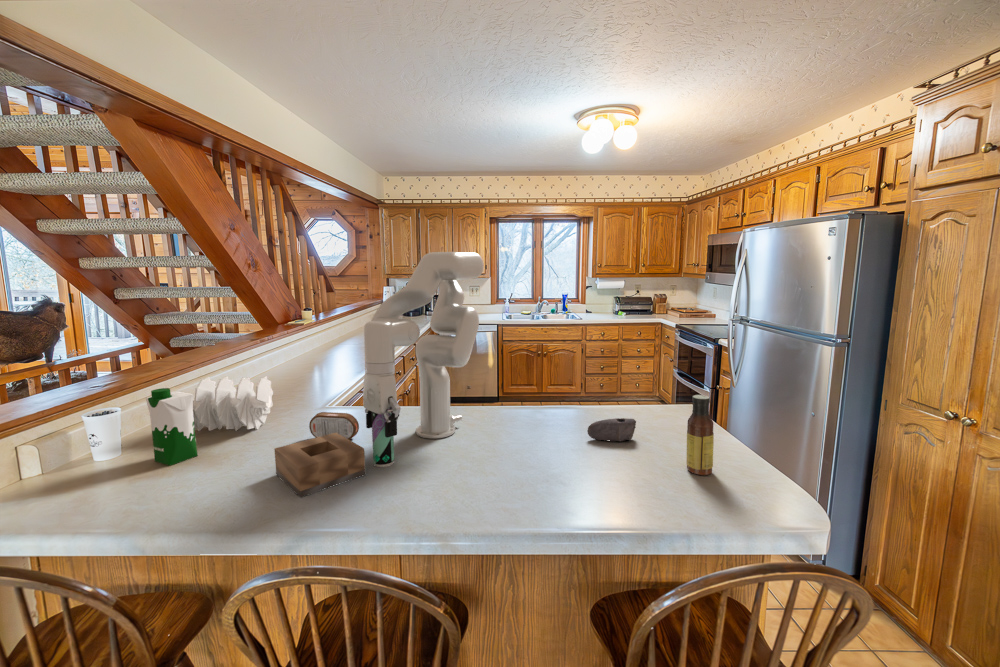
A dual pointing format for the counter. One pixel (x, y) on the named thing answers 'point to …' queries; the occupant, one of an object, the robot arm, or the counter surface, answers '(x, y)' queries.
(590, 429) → the perforated stone tool
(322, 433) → the tin
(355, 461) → the socket block
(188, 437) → the milk carton
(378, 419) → the spray can
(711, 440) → the sauce bottle
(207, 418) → the spiral staircase
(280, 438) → the counter surface
